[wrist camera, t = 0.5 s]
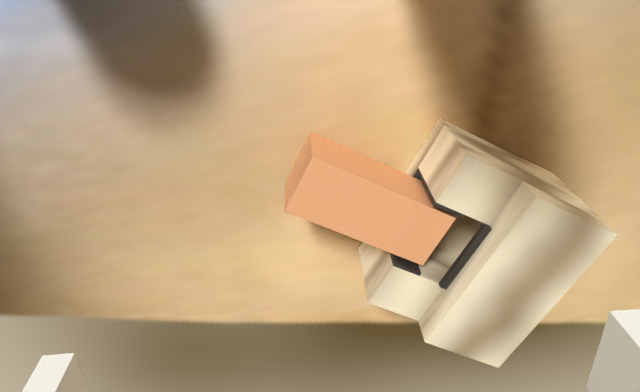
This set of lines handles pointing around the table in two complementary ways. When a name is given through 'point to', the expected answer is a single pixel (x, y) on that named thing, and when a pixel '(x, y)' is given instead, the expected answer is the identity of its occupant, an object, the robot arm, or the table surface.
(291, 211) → the peg
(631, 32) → the table surface
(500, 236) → the sleeve
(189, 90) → the table surface
